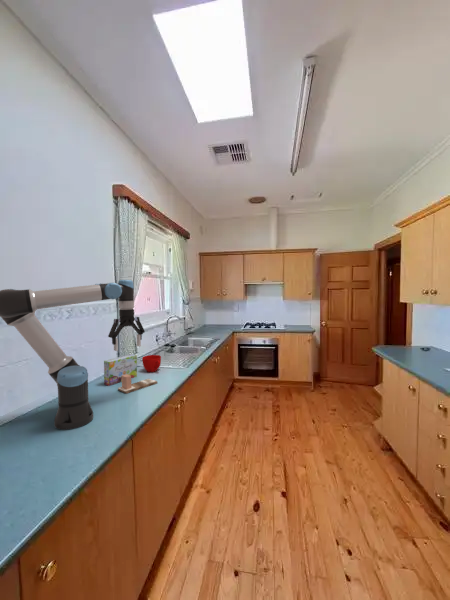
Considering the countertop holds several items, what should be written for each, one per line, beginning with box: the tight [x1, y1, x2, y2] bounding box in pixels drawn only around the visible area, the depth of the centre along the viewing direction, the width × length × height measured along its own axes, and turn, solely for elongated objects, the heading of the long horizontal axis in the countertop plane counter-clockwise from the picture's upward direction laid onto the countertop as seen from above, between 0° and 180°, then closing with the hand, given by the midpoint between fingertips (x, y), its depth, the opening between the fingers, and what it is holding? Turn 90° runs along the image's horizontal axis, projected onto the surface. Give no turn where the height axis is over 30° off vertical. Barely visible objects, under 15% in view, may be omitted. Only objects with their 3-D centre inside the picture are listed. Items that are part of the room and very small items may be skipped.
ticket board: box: [117, 378, 158, 395], centre depth 163 cm, size 21×9×2 cm, turn 141°
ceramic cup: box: [141, 354, 162, 373], centre depth 193 cm, size 13×17×10 cm
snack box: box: [103, 353, 138, 387], centre depth 174 cm, size 21×6×15 cm, turn 148°
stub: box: [117, 374, 135, 392], centre depth 157 cm, size 6×8×7 cm
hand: (127, 348), depth 146 cm, fingers open, 13 cm apart
